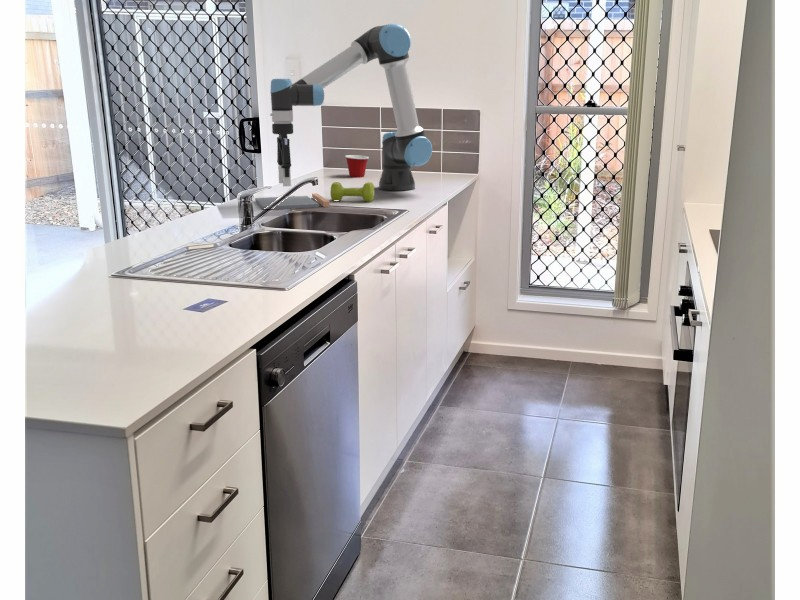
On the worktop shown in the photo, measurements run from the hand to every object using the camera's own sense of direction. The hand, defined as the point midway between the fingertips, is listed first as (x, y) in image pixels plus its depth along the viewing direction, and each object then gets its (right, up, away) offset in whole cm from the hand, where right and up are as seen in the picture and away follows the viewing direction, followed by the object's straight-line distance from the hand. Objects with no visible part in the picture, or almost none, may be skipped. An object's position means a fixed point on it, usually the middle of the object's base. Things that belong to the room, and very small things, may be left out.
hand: (284, 184), depth 290 cm
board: (0, -7, +2) cm, 7 cm away
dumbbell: (+25, -5, +9) cm, 27 cm away
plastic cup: (+23, +11, +70) cm, 75 cm away
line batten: (+13, -6, +6) cm, 15 cm away
